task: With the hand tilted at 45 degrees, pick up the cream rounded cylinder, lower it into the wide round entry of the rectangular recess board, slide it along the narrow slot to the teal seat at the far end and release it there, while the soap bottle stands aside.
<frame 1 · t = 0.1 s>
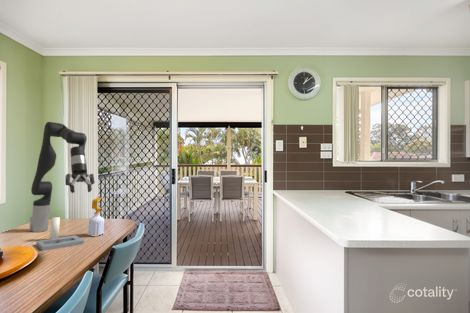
hand: (81, 192, 143), 31 cm above the table, tool tilted 20°, fingers open, 8 cm apart
rectangular recess board: (60, 244, 149), on the table
soap bottle: (95, 235, 171), on the table
cream rounded cylinder: (54, 239, 157), on the table
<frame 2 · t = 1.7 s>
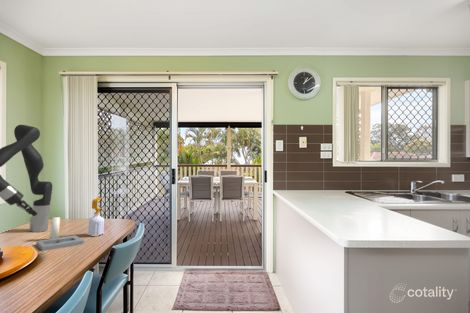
hand: (33, 214, 149), 17 cm above the table, tool tilted 45°, fingers open, 8 cm apart
nothing on the table moved.
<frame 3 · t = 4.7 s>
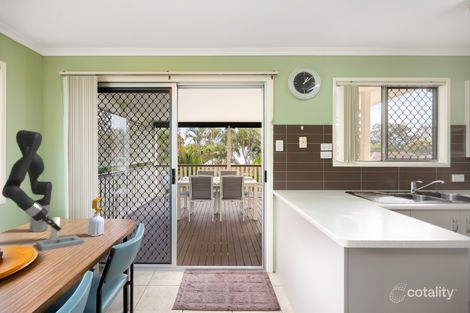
hand: (58, 229, 159), 6 cm above the table, tool tilted 45°, fingers closed on cream rounded cylinder, 4 cm apart
cream rounded cylinder: (54, 239, 157), on the table, touching gripper
everything else where it was.
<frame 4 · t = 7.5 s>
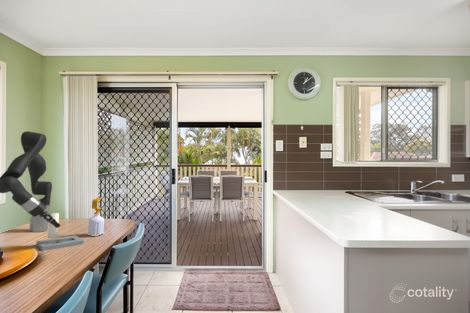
hand: (57, 225, 147), 11 cm above the table, tool tilted 45°, fingers closed on cream rounded cylinder, 4 cm apart
cream rounded cylinder: (52, 236, 146), point 5 cm above the table, touching gripper
everything else where it was.
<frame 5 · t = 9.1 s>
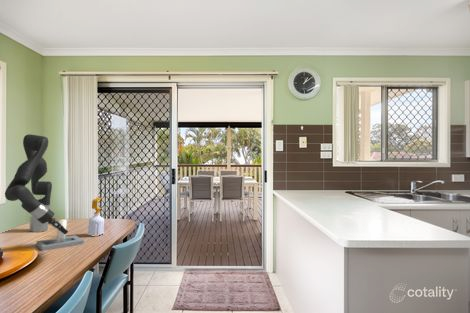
hand: (65, 231, 150), 7 cm above the table, tool tilted 45°, fingers closed on cream rounded cylinder, 4 cm apart
cream rounded cylinder: (60, 242, 149), point 1 cm above the table, touching gripper
everything else where it was.
when the fingers open (7 cm above the table, at t = 10.4 s): cream rounded cylinder stays where it is, resting on rectangular recess board.
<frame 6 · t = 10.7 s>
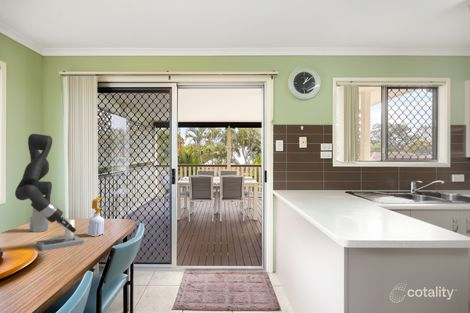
hand: (72, 230, 153), 7 cm above the table, tool tilted 45°, fingers open, 7 cm apart
cream rounded cylinder: (68, 242, 152), resting on rectangular recess board
everything else where it was.
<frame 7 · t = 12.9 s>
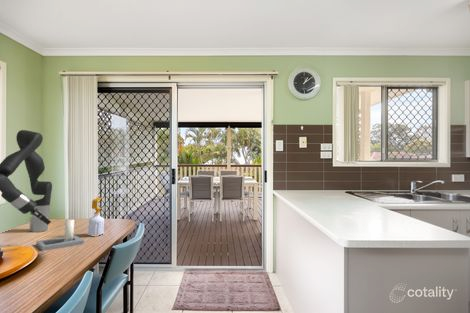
hand: (47, 221, 147), 13 cm above the table, tool tilted 45°, fingers open, 8 cm apart
nothing on the table moved.
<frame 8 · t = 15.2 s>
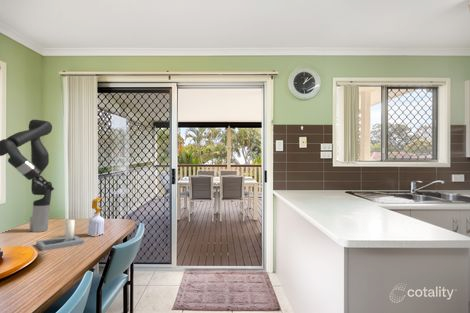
hand: (50, 189, 155), 31 cm above the table, tool tilted 45°, fingers open, 8 cm apart
nothing on the table moved.
at the end: cream rounded cylinder 0.1 cm from the target spot, resting on rectangular recess board; cream rounded cylinder tilted 1°; the gripper is holding nothing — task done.
